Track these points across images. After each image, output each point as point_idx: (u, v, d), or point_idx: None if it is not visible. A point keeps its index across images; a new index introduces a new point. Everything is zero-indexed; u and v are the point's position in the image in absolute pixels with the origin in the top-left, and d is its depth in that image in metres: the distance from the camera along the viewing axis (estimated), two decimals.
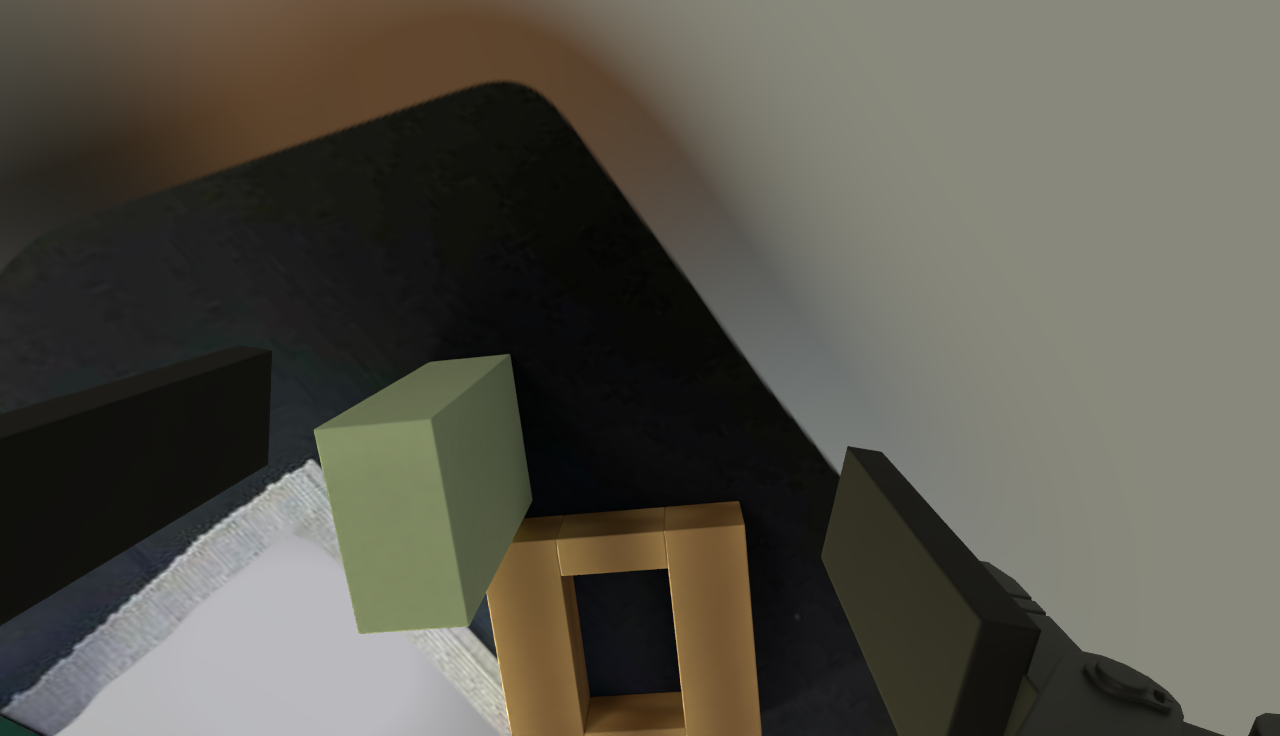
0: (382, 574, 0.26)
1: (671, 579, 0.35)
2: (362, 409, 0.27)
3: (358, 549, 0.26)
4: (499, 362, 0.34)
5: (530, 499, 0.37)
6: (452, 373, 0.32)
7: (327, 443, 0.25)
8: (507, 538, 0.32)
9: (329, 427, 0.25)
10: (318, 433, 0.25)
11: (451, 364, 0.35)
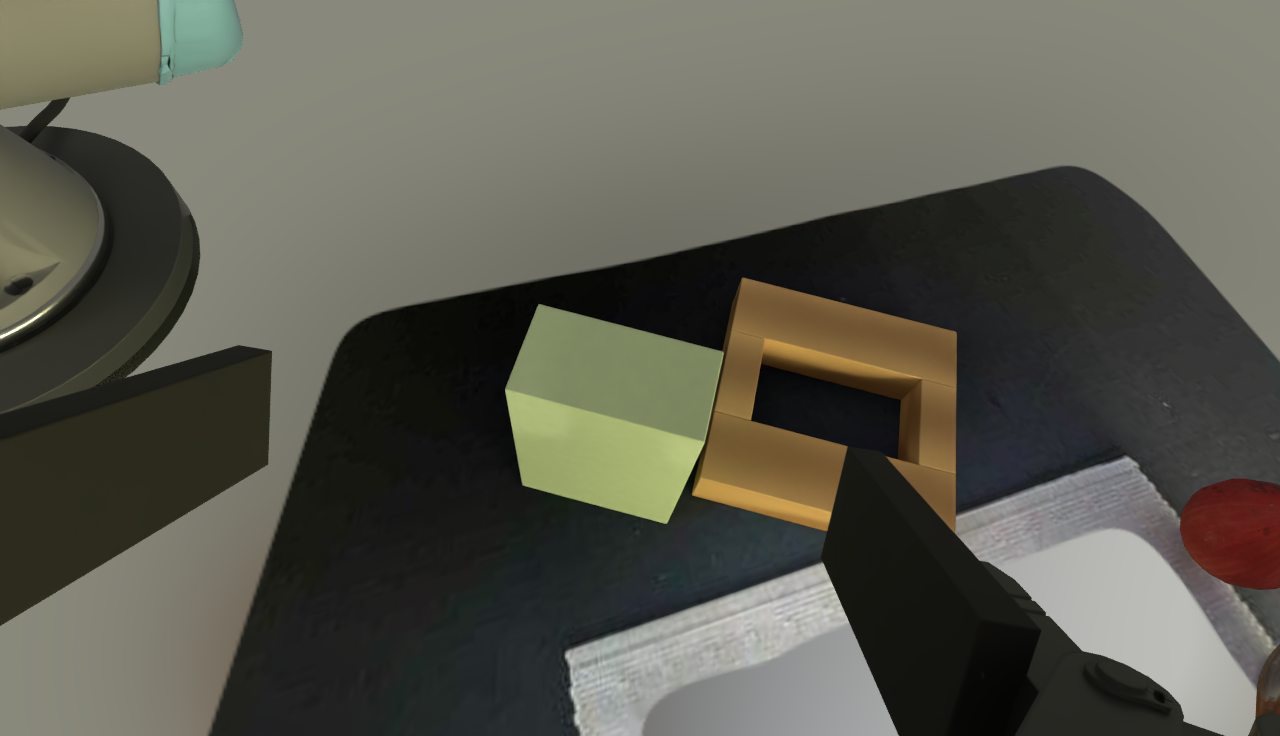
0: (653, 396, 0.28)
1: (775, 339, 0.41)
2: None
3: (623, 404, 0.28)
4: None
5: None
6: None
7: (521, 384, 0.28)
8: None
9: (509, 378, 0.28)
10: (509, 387, 0.28)
11: None
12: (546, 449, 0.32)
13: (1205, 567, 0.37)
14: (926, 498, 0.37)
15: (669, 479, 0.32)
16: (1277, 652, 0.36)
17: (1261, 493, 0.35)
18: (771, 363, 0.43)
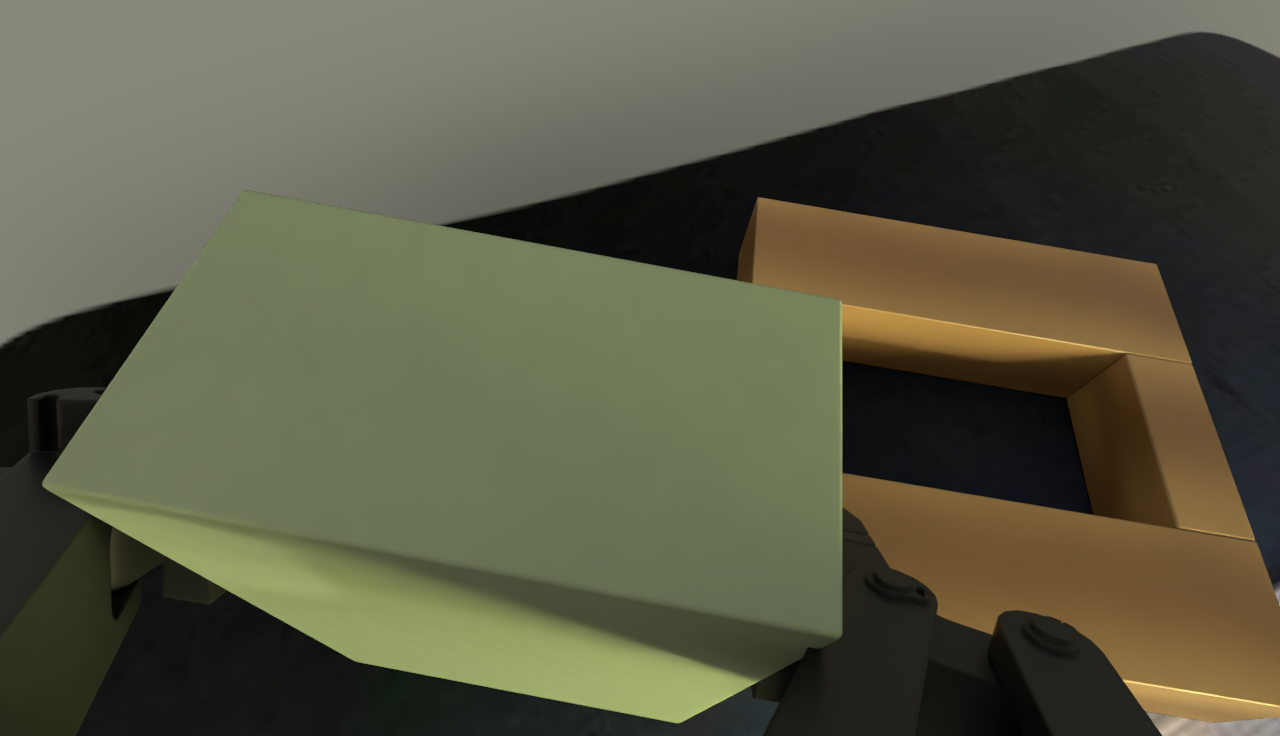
0: (629, 463, 0.08)
1: None
2: None
3: (515, 504, 0.07)
4: None
5: None
6: None
7: (115, 458, 0.07)
8: None
9: (76, 439, 0.07)
10: (62, 471, 0.07)
11: None
12: (341, 620, 0.11)
13: None
14: (1218, 604, 0.17)
15: (690, 685, 0.11)
16: None
17: None
18: None
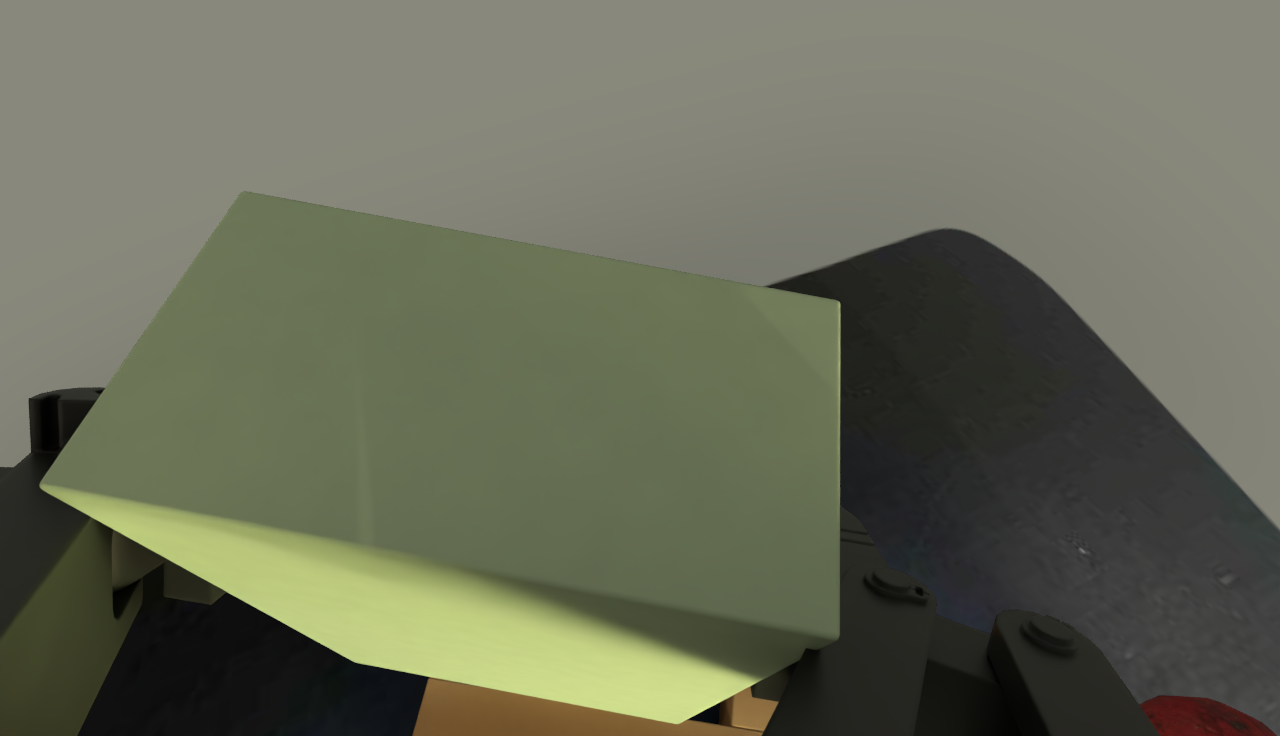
0: (627, 464, 0.08)
1: None
2: None
3: (513, 506, 0.07)
4: None
5: None
6: None
7: (112, 459, 0.07)
8: None
9: (73, 440, 0.07)
10: (59, 473, 0.07)
11: None
12: (339, 622, 0.11)
13: None
14: None
15: (688, 686, 0.11)
16: None
17: None
18: None
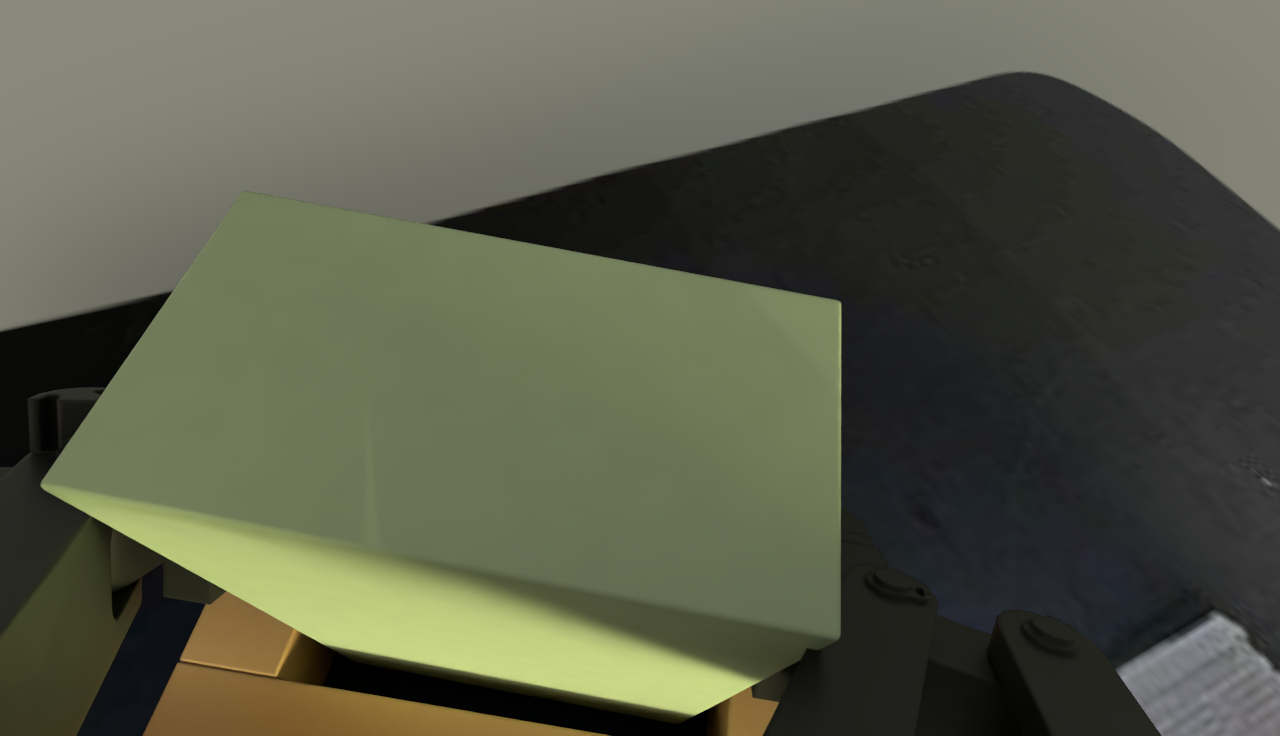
0: (628, 465, 0.08)
1: None
2: None
3: (514, 505, 0.07)
4: None
5: None
6: None
7: (113, 459, 0.07)
8: None
9: (75, 440, 0.07)
10: (61, 473, 0.07)
11: None
12: (339, 621, 0.11)
13: None
14: None
15: (689, 686, 0.11)
16: None
17: None
18: None
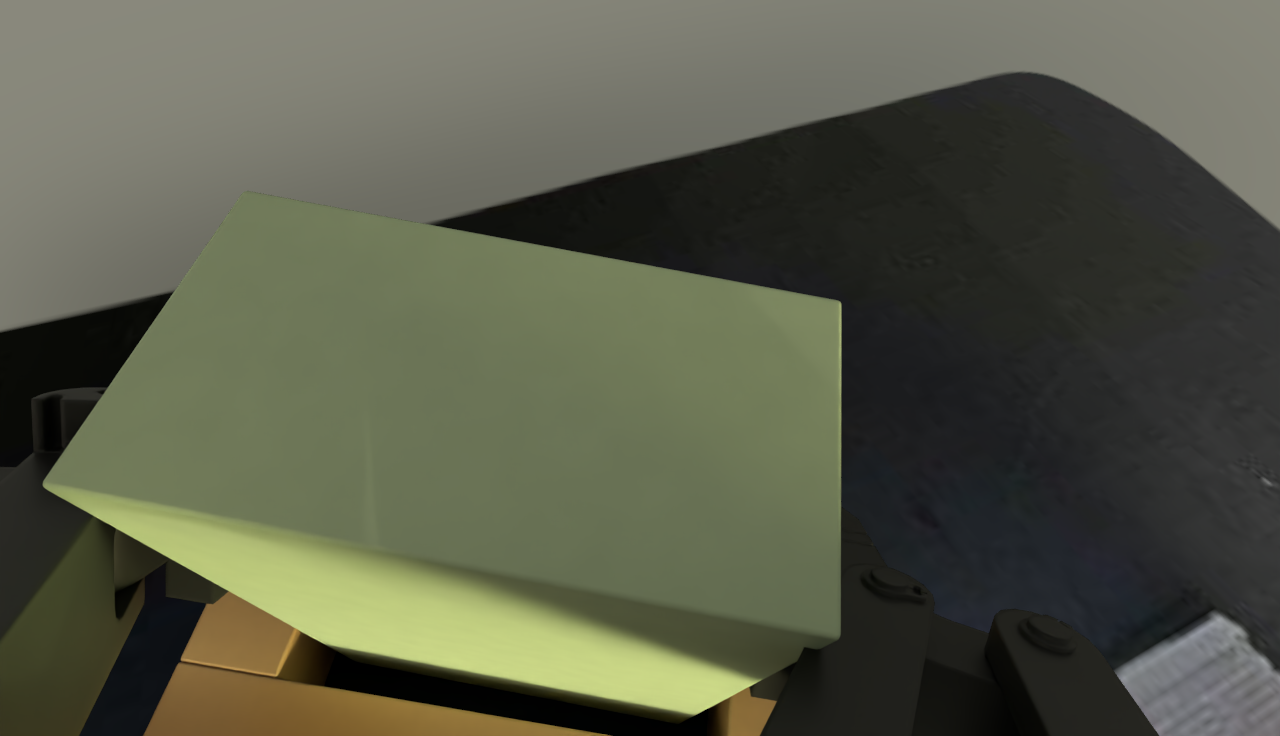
0: (628, 463, 0.08)
1: None
2: None
3: (515, 505, 0.07)
4: None
5: None
6: None
7: (115, 458, 0.07)
8: None
9: (76, 439, 0.07)
10: (62, 472, 0.07)
11: None
12: (340, 621, 0.11)
13: None
14: None
15: (689, 685, 0.11)
16: None
17: None
18: None
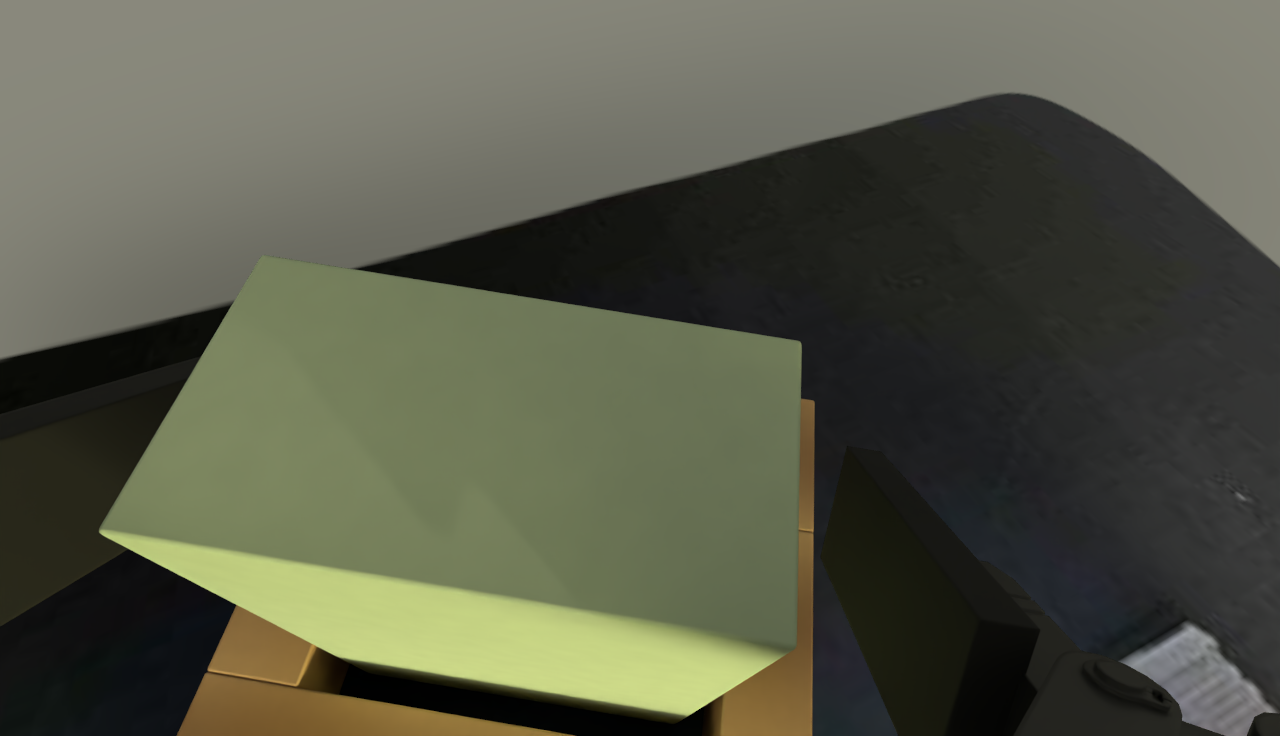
0: (610, 497, 0.09)
1: None
2: None
3: (511, 537, 0.08)
4: None
5: None
6: None
7: (160, 506, 0.08)
8: None
9: (125, 489, 0.08)
10: (115, 519, 0.08)
11: None
12: (356, 638, 0.12)
13: None
14: None
15: (677, 689, 0.12)
16: None
17: None
18: None
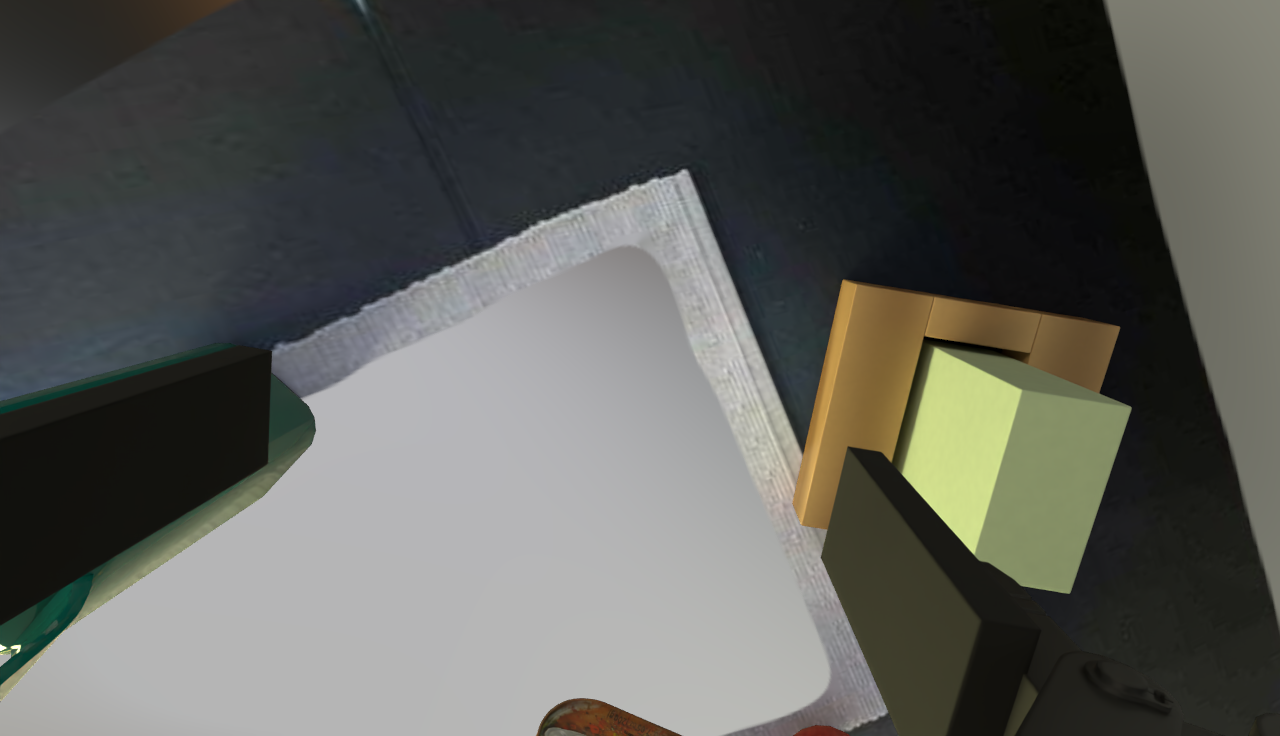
0: (1017, 530, 0.28)
1: None
2: (1011, 378, 0.29)
3: (1007, 503, 0.28)
4: (1010, 357, 0.36)
5: None
6: (992, 358, 0.35)
7: (1028, 404, 0.27)
8: None
9: (1034, 391, 0.27)
10: (1024, 393, 0.27)
11: (956, 347, 0.37)
12: (956, 394, 0.33)
13: (795, 735, 0.42)
14: None
15: None
16: None
17: None
18: None
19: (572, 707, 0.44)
